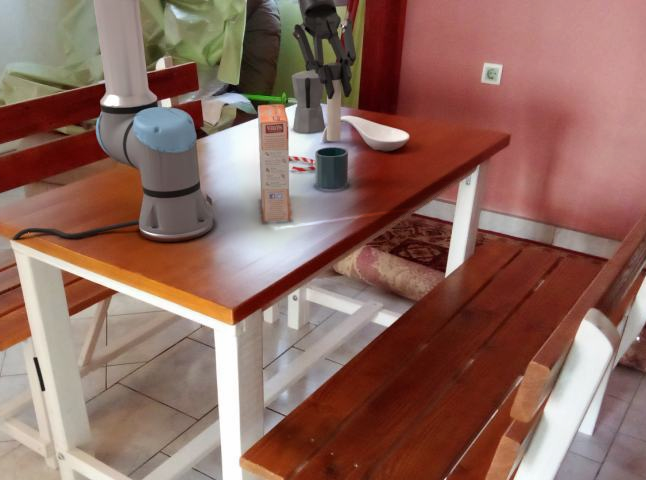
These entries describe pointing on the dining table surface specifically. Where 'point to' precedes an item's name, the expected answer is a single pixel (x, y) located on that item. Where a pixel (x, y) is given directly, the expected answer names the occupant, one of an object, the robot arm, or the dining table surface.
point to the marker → (334, 104)
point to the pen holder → (331, 168)
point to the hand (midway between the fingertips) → (339, 94)
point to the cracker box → (274, 162)
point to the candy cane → (293, 158)
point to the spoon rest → (375, 134)
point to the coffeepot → (308, 102)
